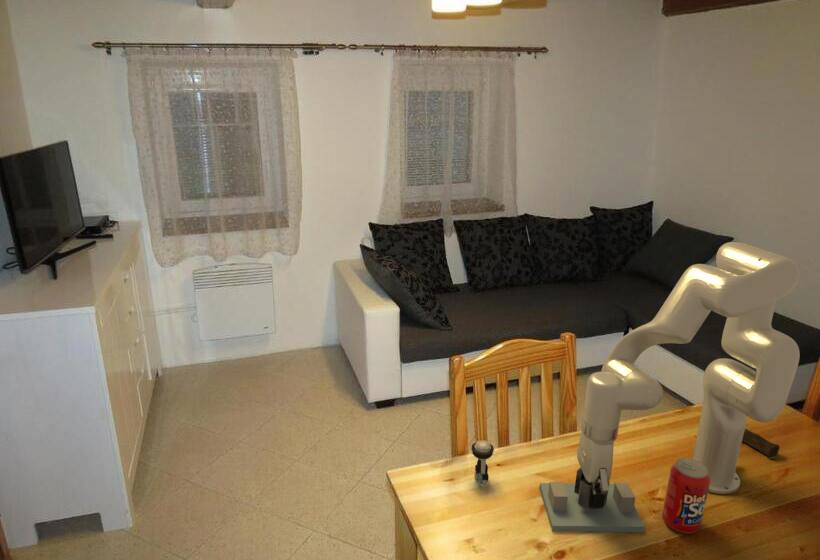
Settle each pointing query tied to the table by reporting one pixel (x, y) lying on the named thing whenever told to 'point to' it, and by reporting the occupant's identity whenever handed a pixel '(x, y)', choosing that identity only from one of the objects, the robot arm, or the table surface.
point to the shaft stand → (576, 517)
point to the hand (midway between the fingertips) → (590, 494)
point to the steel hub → (585, 489)
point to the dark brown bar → (760, 443)
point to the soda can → (686, 495)
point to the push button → (482, 460)
